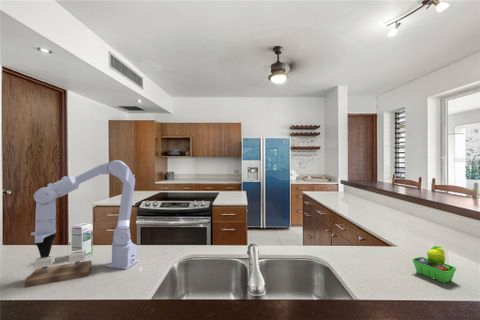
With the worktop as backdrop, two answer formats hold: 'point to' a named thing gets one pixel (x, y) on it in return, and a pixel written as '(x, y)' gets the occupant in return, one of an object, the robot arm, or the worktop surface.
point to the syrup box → (83, 238)
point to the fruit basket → (434, 265)
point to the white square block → (77, 256)
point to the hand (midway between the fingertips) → (45, 256)
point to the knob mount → (58, 273)
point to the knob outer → (44, 261)
